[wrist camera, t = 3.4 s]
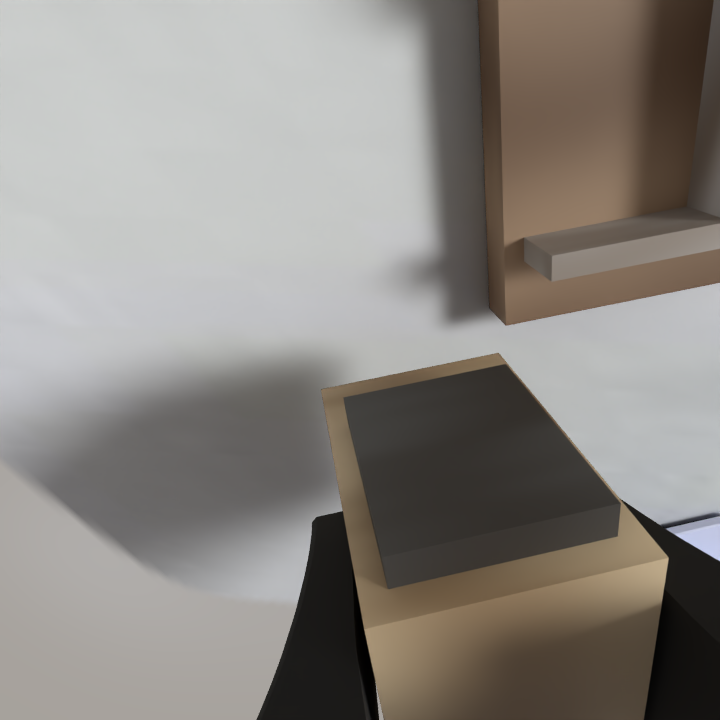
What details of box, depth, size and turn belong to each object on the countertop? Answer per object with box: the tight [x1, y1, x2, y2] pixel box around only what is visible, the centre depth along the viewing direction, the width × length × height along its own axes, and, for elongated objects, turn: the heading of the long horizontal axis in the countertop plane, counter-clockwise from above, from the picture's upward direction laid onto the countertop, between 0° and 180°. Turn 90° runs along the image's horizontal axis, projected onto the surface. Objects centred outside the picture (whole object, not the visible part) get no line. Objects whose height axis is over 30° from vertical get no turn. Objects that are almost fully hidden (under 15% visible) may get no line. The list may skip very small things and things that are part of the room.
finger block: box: [321, 353, 669, 720], centre depth 11 cm, size 4×6×6 cm
